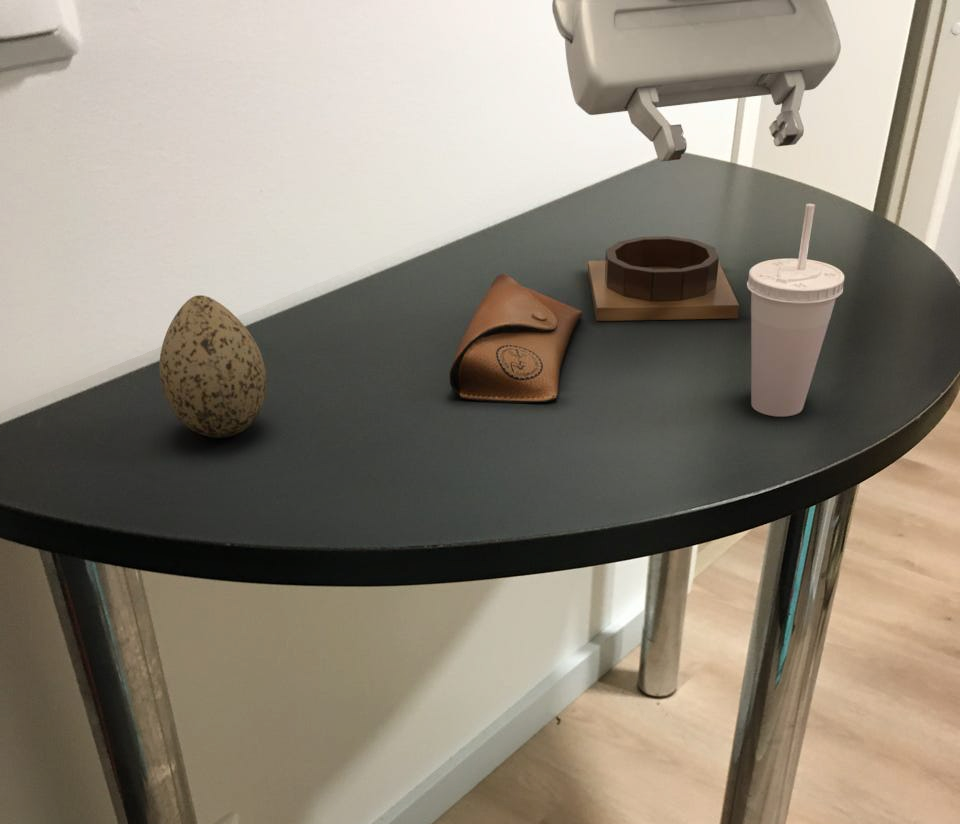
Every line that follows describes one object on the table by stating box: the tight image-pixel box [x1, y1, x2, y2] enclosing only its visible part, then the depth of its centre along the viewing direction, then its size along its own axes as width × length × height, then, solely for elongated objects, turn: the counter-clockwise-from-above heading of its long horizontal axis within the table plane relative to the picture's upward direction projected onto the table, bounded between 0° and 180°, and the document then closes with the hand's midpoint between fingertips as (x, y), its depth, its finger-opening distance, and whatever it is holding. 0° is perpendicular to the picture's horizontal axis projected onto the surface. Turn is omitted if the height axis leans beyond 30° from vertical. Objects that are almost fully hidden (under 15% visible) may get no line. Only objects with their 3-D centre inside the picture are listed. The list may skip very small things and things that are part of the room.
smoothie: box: [746, 203, 845, 418], centre depth 76 cm, size 6×6×14 cm
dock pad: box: [587, 235, 740, 322], centre depth 98 cm, size 12×12×4 cm
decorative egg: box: [158, 294, 268, 439], centre depth 76 cm, size 7×7×10 cm
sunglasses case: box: [448, 272, 583, 404], centre depth 88 cm, size 18×7×7 cm
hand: (733, 148), depth 78 cm, fingers open, 8 cm apart
